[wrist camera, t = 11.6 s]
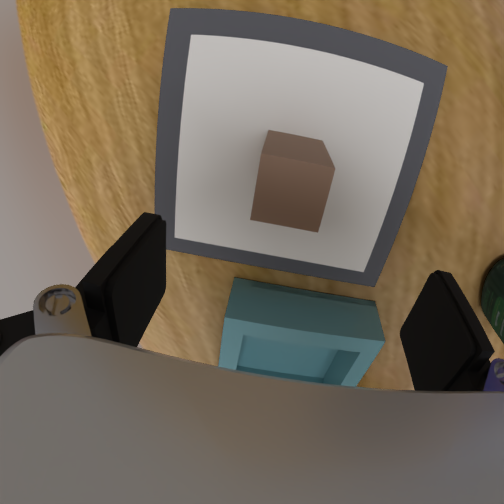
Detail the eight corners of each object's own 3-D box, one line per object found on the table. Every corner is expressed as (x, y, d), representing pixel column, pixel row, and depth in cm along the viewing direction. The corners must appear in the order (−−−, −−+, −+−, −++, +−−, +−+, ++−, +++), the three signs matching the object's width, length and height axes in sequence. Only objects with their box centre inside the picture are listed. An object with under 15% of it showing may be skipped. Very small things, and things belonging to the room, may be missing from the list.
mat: (443, 65, 16) (447, 66, 16) (373, 282, 27) (374, 287, 26) (173, 9, 16) (170, 8, 16) (157, 243, 27) (155, 247, 26)
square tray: (374, 301, 28) (385, 341, 23) (331, 381, 35) (333, 416, 31) (234, 277, 28) (224, 317, 24) (221, 365, 35) (214, 401, 31)
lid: (418, 82, 17) (469, 92, 11) (361, 264, 25) (378, 326, 19) (195, 35, 17) (154, 23, 11) (178, 231, 25) (146, 285, 19)
